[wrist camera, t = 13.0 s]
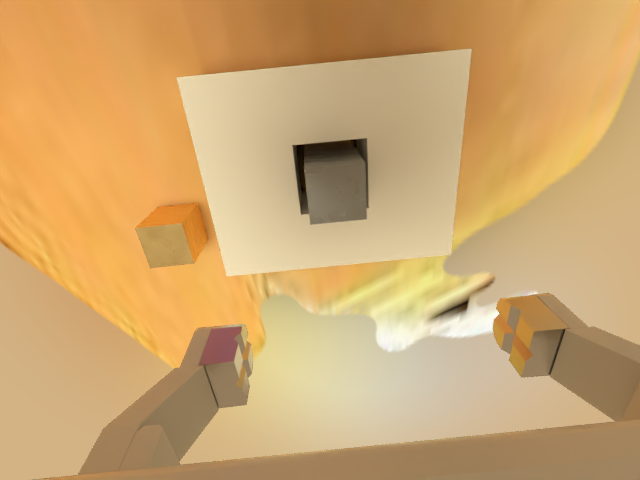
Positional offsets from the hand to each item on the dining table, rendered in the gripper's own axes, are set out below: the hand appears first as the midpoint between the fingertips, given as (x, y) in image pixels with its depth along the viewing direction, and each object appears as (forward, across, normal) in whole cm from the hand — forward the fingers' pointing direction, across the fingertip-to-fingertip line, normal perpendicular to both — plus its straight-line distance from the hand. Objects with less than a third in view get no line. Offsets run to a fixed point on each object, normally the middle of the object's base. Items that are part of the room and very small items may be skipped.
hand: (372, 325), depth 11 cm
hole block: (+23, 0, 0) cm, 23 cm away
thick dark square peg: (+23, 0, 0) cm, 23 cm away
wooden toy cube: (+23, +15, +5) cm, 28 cm away
